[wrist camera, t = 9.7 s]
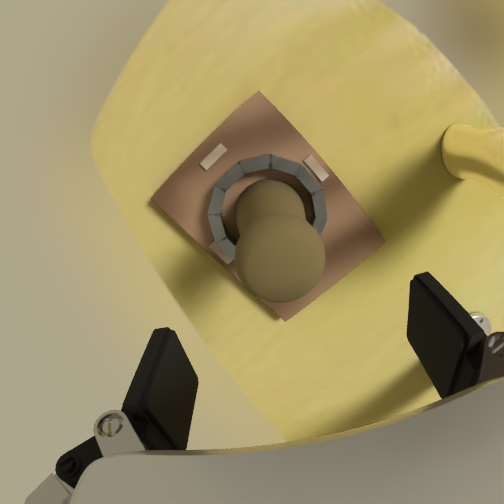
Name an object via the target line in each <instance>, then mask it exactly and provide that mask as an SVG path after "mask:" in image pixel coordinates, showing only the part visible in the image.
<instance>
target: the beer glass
mask: <svg viewBox="0 0 504 504" xmlns="http://www.w3.org/2000/svg"><path fill="white" fill-rule="evenodd" d="M441 151H442V158H443V162H444V164H445V166H446V168H447V170H448V171H449V172H450V173H451V174H452V175H453V176H455V177H457V178H460V179H469V180H476V181H479V182H481V183H482V184H484V185H486V186H487V187H488V188H490V189H491V190H493V191H494V192H495V193H497V194H498V195H499V196H501V197H502V198H503V199H504V127H503V128H495V129H478V128H475V127H473V126H470V125H468V124H465V123H456V124H453V125H451V126H450V127H449V128H448V129H447V130H446V132H445V134H444V136H443V140H442V146H441Z"/></svg>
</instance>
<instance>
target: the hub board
mask: <svg viewBox="0 0 504 504" xmlns="http://www.w3.org/2000/svg"><path fill="white" fill-rule="evenodd" d="M264 154H270V155H271V154H274V155H277V156H280V157H283V158H287V159H290V160H293V161H296V162H299V163H300V164H301V165H303V166H304V167H305V168H306V170H307V171H308V172H309V173H310V174H311V175H312V176H313V178H314V179H315V180H316V181H317V182H318V183H319V185H320V186H321V187H322V189H323V192H324V198H325V204H326V210H327V216H328V217H327V222H326V224H325V227H324V229H323V232H322V234H321V237H320V238H321V240H322V242H323V244H324V249H325V267H324V271H323V275H322V276H321V278H320V280H319V281H318V283H317V285H316V286H315V287H314V288H313V289H312V290H310V291H309V292H308V293H307V294H306V295H305V296H303V297H301V298H299V299H296V300H294V301H290V302H284V303H277V302H268V301H266V300H263V299H260V298H259V299H260V300H261V301H262V302H264V303H265V304H266V305H267V306H268V307H269V308H270V309H271V310H273V311H274V312H275V313H276V314H277V315H278V316H279V317H281V318H282V319H283V320H284V321H285V322H286V321H287V320H289V319H290V318H291V317H293V316H294V315H295V314H297V313H298V312H299V311H301V310H302V309H303V308H305V307H306V306H307V305H309V304H310V303H311V302H313V301H314V300H315V299H316V298H318V297H319V296H320V295H322V294H323V293H324V292H325V291H327V290H328V289H329V288H331V287H332V286H333V285H334V284H336V283H337V282H338V281H339V280H341V279H342V278H343V277H344V276H346V275H347V274H348V273H349V272H350V271H352V270H353V269H354V268H355V267H357V266H358V265H359V264H360V263H361V262H363V261H364V260H365V259H366V258H367V257H369V256H370V255H371V254H372V253H373V252H374V251H376V250H377V249H378V248H379V247H380V246H381V245H383V244H384V243H385V242H386V241H385V240H384V238H383V237H382V236H381V234H380V233H379V231H378V230H377V229H376V227H375V226H374V224H373V223H372V222H371V220H370V219H369V218H368V216H367V215H366V213H365V212H364V211H363V209H362V208H361V207H360V205H359V204H358V203H357V202H356V200H355V199H354V198H353V196H352V195H351V194H350V192H349V191H348V190H347V189H346V187H345V186H344V185H343V184H342V182H341V181H340V180H339V179H338V177H337V176H336V175H335V174H334V172H333V171H332V170H331V169H330V168H329V166H328V165H327V164H326V163H325V162H324V160H323V159H322V158H321V157H320V156H319V155H318V153H317V152H316V151H315V150H314V149H313V148H312V147H311V145H310V144H309V143H308V142H307V141H306V140H305V139H304V138H303V136H302V135H301V134H300V133H299V132H298V131H297V130H296V129H295V128H294V127H293V125H292V124H291V123H290V122H289V121H288V120H287V119H286V118H285V117H284V116H283V115H282V114H281V113H280V112H279V111H278V110H277V109H276V107H275V106H274V105H273V104H272V103H271V102H270V101H269V100H268V99H267V98H266V97H265V96H264V95H263V94H262V93H261V92H260V91H258V92H257V93H255V94H254V95H253V96H252V97H251V98H250V99H249V100H247V101H246V102H245V103H244V104H243V105H242V106H241V107H240V108H239V109H237V110H236V111H235V112H234V113H233V114H232V115H231V116H230V117H229V118H228V119H227V120H226V121H224V122H223V123H222V124H221V125H220V126H219V127H218V128H217V129H216V130H215V131H214V132H213V133H212V134H211V135H210V136H209V137H208V138H207V139H206V140H205V141H204V142H203V143H202V144H201V145H200V146H199V147H198V148H197V149H196V150H195V151H194V152H193V153H192V154H191V155H190V156H189V157H188V158H187V159H186V160H185V161H184V162H183V163H182V164H181V165H180V166H179V167H178V168H177V170H176V171H175V172H174V173H173V174H172V175H171V176H170V177H169V178H168V179H167V180H166V181H165V183H164V184H163V185H162V186H161V187H160V188H159V189H158V190H157V191H156V193H155V194H154V195H153V196H152V197H151V199H152V200H153V201H154V202H155V203H156V204H157V205H158V206H159V207H160V208H161V209H162V210H163V211H164V212H166V213H167V214H168V215H169V216H170V217H171V218H172V219H173V220H174V221H175V222H176V223H177V224H178V225H179V226H180V227H181V228H182V229H184V230H185V231H186V232H187V233H188V234H189V235H190V236H191V237H192V238H193V239H194V240H195V241H196V242H197V243H199V244H200V245H201V246H202V247H203V248H204V249H205V250H206V251H207V252H208V253H209V254H210V255H212V256H213V257H214V258H215V259H216V260H217V261H218V262H219V263H220V264H221V265H222V266H224V267H225V268H226V269H227V270H228V271H229V272H230V273H231V274H232V275H233V276H235V277H236V278H237V279H238V280H239V281H240V279H239V277H238V275H237V272H236V268H235V264H234V260H233V259H232V258H231V257H230V256H229V255H228V254H227V253H226V252H225V251H224V250H222V249H221V248H220V247H219V246H218V245H217V242H215V239H214V236H213V233H212V229H211V226H210V223H209V219H208V214H207V213H208V209H209V206H210V202H211V198H212V194H213V191H214V187H215V185H216V183H217V181H218V180H219V179H220V178H221V177H222V176H223V175H224V174H225V173H226V172H227V171H228V170H229V169H231V168H232V167H233V166H234V165H235V164H236V163H237V162H238V161H239V162H240V160H243V159H247V158H251V157H255V156H260V155H264ZM263 179H277V180H281V181H284V182H286V183H288V184H290V185H291V186H292V187H293V188H294V189H295V190H296V191H297V192H298V193H299V195H300V197H301V199H302V201H303V205H304V211H305V217H306V221H307V222H308V223H309V220H310V217H311V215H312V208H311V203H310V197H309V192H308V190H307V188H306V187H305V186H304V185H303V184H302V183H301V182H300V181H299V179H298V178H297V177H296V176H295V175H292V174H289V173H286V172H282V171H279V170H276V169H273V168H268V169H263V170H259V171H254V172H250V173H246V174H244V175H243V176H242V177H241V178H240V179H239V180H238V181H237V182H236V183H234V184H233V185H232V186H231V187H230V188H229V189H228V190H227V192H226V195H225V199H224V202H223V206H222V214H223V217H224V221H225V224H226V228H227V231H228V232H229V233H230V234H231V235H232V236H233V237H234V238H235V239H236V240H237V241H238V240H239V238H240V233H239V230H238V227H237V223H236V218H235V206H236V202H237V200H238V198H239V196H240V194H241V193H242V192H243V191H244V189H245V188H246V187H247V186H249V185H250V184H252V183H254V182H256V181H258V180H263ZM240 282H241V281H240ZM241 283H242V282H241Z"/></svg>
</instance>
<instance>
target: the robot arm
mask: <svg viewBox="0 0 504 504" xmlns="http://www.w3.org/2000/svg"><path fill="white" fill-rule="evenodd" d="M407 338H408V341H409V343H410V344H411V346H412V348H413V349H414V351H415V353H416V354H417V356H418V358H419V360H420V361H421V363H422V365H423V366H424V368H425V370H426V372H427V373H428V375H429V377H430V379H431V381H432V382H433V384H434V386H435V388H436V390H437V391H438V393H439V395H440V397H441V398H442V399H441V400H439V401H436V402H434V403H431V404H429V405H426V406H423V407H421V408H418V409H415V410H413V411H410V412H407V413H404V414H401V415H398V416H395V417H392V418H389V419H386V420H383V421H379V422H376V423H373V424H369V425H366V426H362V427H358V428H354V429H350V430H346V431H342V432H338V433H334V434H329V435H325V436H320V437H315V438H309V439H304V440H298V441H292V442H286V443H279V444H272V445H263V446H255V447H244V448H231V449H212V450H186V448H187V442H188V436H189V431H190V426H191V420H192V415H193V409H194V404H195V399H196V393H197V388H198V377H197V375H196V373H195V371H194V369H193V367H192V365H191V363H190V361H189V359H188V357H187V355H186V353H185V351H184V349H183V347H182V345H181V343H180V341H179V339H178V337H177V334H176V333H175V331H174V330H171V329H170V328H168V327H166V328H159V329H155V330H154V331H153V334H152V335H151V338H150V340H149V342H148V345H147V347H146V349H145V351H144V354H143V356H142V358H141V361H140V363H139V366H138V368H137V370H136V373H135V375H134V378H133V380H132V382H131V385H130V387H129V390H128V392H127V395H126V397H125V400H124V402H123V407H122V409H121V411H119V410H111V411H108V412H105V413H104V414H102V415H101V416H100V417H99V418H98V419H97V421H96V422H95V424H94V429H93V430H94V434H95V436H93V437H92V438H90V439H88V440H86V441H85V442H83V443H82V444H80V445H78V446H77V447H75V448H73V449H72V450H70V451H68V452H67V453H65V454H63V456H61V457H60V458H59V460H58V461H57V464H56V469H55V470H56V474H55V475H54V474H52V473H51V474H50V475H49V476H48V477H47V478H46V479H45V480H44V481H43V482H42V484H40V485H39V486H38V487H37V488H36V489H35V490H34V491H33V492H32V493H31V494H30V495H29V496H28V497H27V499H26V500H25V504H504V332H494V333H492V334H491V322H490V320H489V319H488V318H487V316H486V315H484V314H483V313H479V312H476V313H471V314H469V313H468V312H467V311H466V310H465V309H464V308H463V307H462V306H461V305H460V304H459V303H458V302H457V300H456V299H455V298H454V297H453V296H452V295H451V294H450V293H449V292H448V291H447V290H446V289H445V288H444V287H443V286H442V285H441V284H440V283H439V282H438V281H437V280H436V279H435V278H434V277H433V276H432V275H431V274H430V273H429V272H424V273H421V274H417V275H415V276H414V278H413V280H411V281H410V295H409V311H408V324H407Z"/></svg>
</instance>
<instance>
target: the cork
mask: <svg viewBox="0 0 504 504" xmlns="http://www.w3.org/2000/svg"><path fill="white" fill-rule="evenodd" d="M235 218H236V223H237V227H238V230H239V233H240V238H239V240H238V242H237V244H236V249H235V259H234V264H235V268H236V272H237V275H238V277H239V279H240V281H241V282H242V284H243V285H244V287H245V288H246V289H247V290H248V291H249V292H251V293H252V294H253V295H254V296H256V297H258V298H260V299H263V300H266V301H268V302H277V303H284V302H290V301H294V300H296V299H299V298H301V297H303V296H305V295H306V294H307V293H308V292H309V291H310V290H312V289H313V288H314V287H315V286H316V285H317V283H318V281H319V280H320V278H321V276H322V275H323V271H324V267H325V249H324V244H323V242H322V240H321V238H320V236H319V234H318V232H317V231H316V230H315V229H314V228H313V227H312V226H311V225H310V224H309V223H308V222H307V221H306V217H305V211H304V205H303V201H302V199H301V197H300V195H299V193H298V192H297V191H296V190H295V189H294V188H293V187H292V186H291V185H290V184H288V183H286V182H284V181H281V180H277V179H263V180H258V181H256V182H254V183H252V184H250V185H249V186H247V187H246V188H245V189H244V191H243V192H242V193H241V194H240V196H239V198H238V200H237V202H236V206H235Z"/></svg>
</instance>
